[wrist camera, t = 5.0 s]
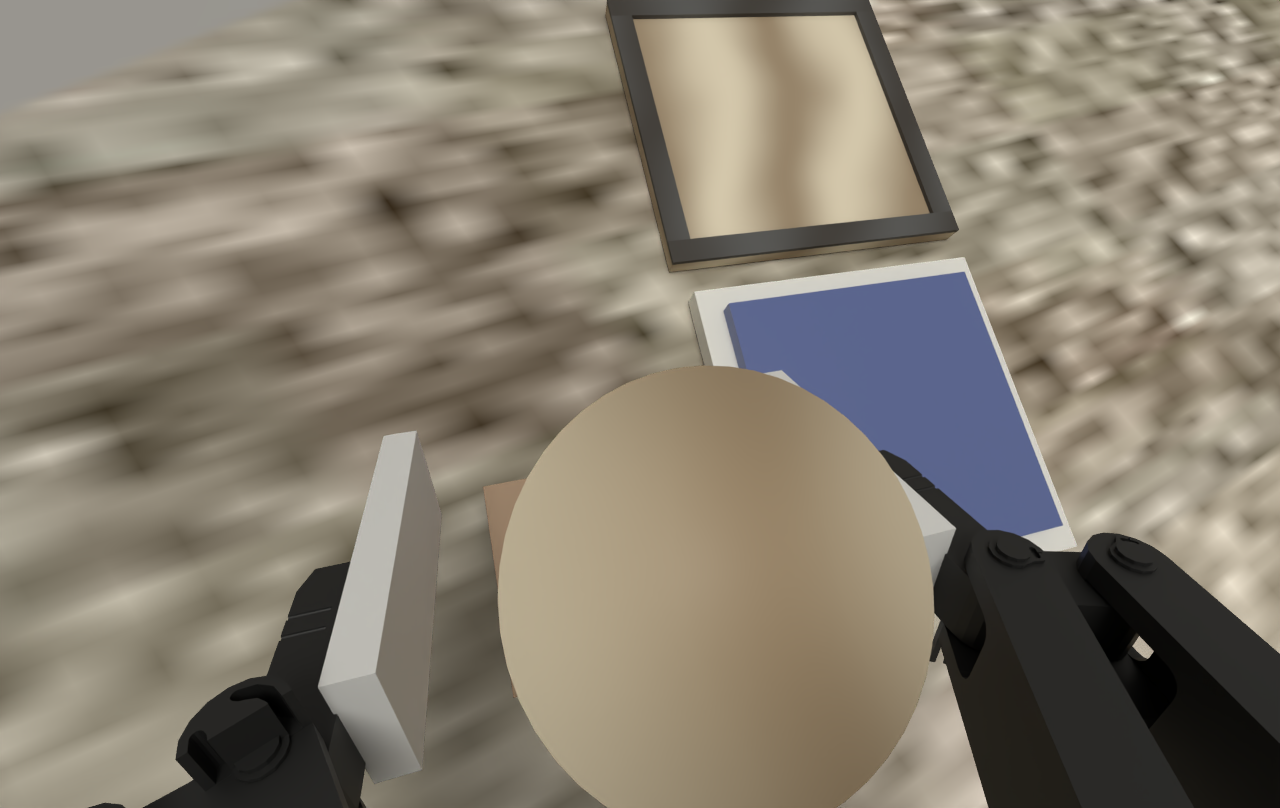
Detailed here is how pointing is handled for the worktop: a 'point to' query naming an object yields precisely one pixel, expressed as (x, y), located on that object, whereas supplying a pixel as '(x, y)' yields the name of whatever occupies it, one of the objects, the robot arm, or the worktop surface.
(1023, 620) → the robot arm
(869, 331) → the ink pad
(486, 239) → the worktop surface
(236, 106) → the worktop surface
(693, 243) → the marked board
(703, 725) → the stamp
